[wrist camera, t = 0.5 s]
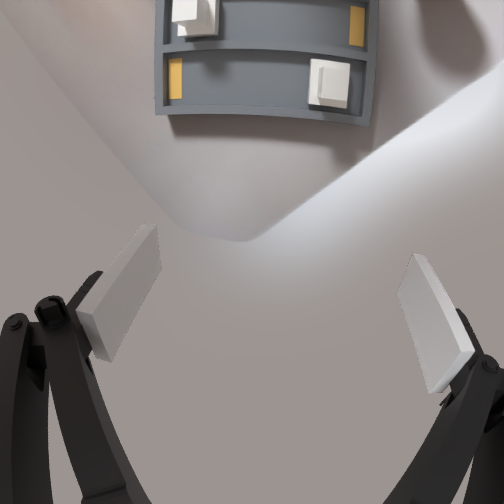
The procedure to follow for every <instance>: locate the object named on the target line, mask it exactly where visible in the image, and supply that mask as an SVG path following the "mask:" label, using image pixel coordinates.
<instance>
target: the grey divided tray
mask: <svg viewBox="0 0 504 504" xmlns="http://www.w3.org/2000/svg"><path fill="white" fill-rule="evenodd" d="M378 5H379V0H220V5H219V30H218V36H203V37H189V38H182V37H179V36H178V24H176V23H173V22H172V7H173V0H156V17H155V56H154V76H155V115H173V114H247V115H267V116H282V117H294V118H305V119H314V120H323V121H331V122H339V123H346V124H353V125H359V126H365V127H370V120H371V112H372V103H373V93H374V82H375V71H376V57H377V39H378ZM310 59H320V60H327V61H335V62H341V63H348V64H350V73H349V85H348V97H347V107H346V108H339V107H332V106H324V105H315V104H308V102H307V101H308V86H309V70H310Z"/></svg>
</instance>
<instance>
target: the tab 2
mask: <svg viewBox="0 0 504 504" xmlns="http://www.w3.org/2000/svg"><path fill="white" fill-rule="evenodd" d="M349 73H350V64H348V63H341V62H335V61H327V60H320V59H310V70H309V86H308V101H307V102H308V104H315V105H324V106H332V107H339V108H346V107H347V97H348V85H349Z"/></svg>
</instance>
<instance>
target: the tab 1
mask: <svg viewBox="0 0 504 504" xmlns="http://www.w3.org/2000/svg"><path fill="white" fill-rule="evenodd" d="M219 5H220V0H173V7H172V22H173V23H176V24H178V36H179V37H182V38H189V37H203V36H218V30H219Z"/></svg>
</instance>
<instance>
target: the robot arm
mask: <svg viewBox="0 0 504 504" xmlns="http://www.w3.org/2000/svg"><path fill="white" fill-rule="evenodd" d="M161 269H162V267H161V260H160V251H159V242H158V233H157V225H155V224H145V223H144V224H142V225H141V226H140V228H139V229H138V230H137V231H136V232H135V234H134V235H133V236H132V237H131V238H130V240H129V241H128V242H127V243H126V245H125V246H124V247H123V248H122V249H121V251H120V252H119V253H118V254H117V256H116V257H115V258H114V260H113V261H112V262H111V263H110V265H109V266H108V267H107V269H106V270H105V271H104V272H103V271H96V272H95V273H93V274H92V275H90V276H89V277H88V278H87V279H86V281H85V282H84V283H83V286H81V287H80V288H79V290H78V292H76V294H75V295H74V296H73V297H72V299H71V300H70V302H69V303H68V304H67V305H65V303H64V301H63V299H62V298H61V297H59V296H54V295H53V296H48V297H46V298H44V299H42V300H41V301H39V302H38V304H37V305H36V307H35V310H34V312H35V314H36V316H37V318H38V320H39V322H29V320H28V318H27V316H26V315H25V314H23V313H16V314H13V315H11V316H10V317H9V318H8V319H7V320H6V321H5V323H4V325H3V328H2V331H1V335H0V504H53V499H52V490H51V481H50V470H49V454H48V453H49V452H48V398H49V381H50V386H51V391H52V396H53V400H54V404H55V409H56V413H57V417H58V421H59V425H60V429H61V432H62V436H63V439H64V443H65V446H66V449H67V452H68V455H69V458H70V462H71V464H72V467H73V470H74V473H75V476H76V478H77V481H78V484H79V486H80V488H81V491H82V495H83V498H82V500H81V504H152V503H151V502H150V500H149V499H148V497H147V495H146V493H145V492H144V490H143V488H142V486H141V484H140V483H139V480H138V478H137V477H136V475H135V473H134V471H133V469H132V467H131V465H130V463H129V461H128V458H127V456H126V454H125V452H124V450H123V447H122V445H121V443H120V441H119V438H118V436H117V434H116V431H115V429H114V426H113V424H112V421H111V419H110V416H109V414H108V411H107V409H106V406H105V403H104V401H103V398H102V395H101V392H100V389H99V386H98V383H97V380H96V377H95V374H94V371H93V368H92V365H91V361H90V359H89V357H88V356H89V354H90V352H91V350H93V352H94V355H95V357H96V358H97V359H101V360H105V361H108V362H112V361H113V359H114V356H115V355H116V353H117V351H118V349H119V347H120V345H121V343H122V341H123V339H124V337H125V335H126V333H127V331H128V329H129V327H130V325H131V324H132V322H133V320H134V318H135V316H136V314H137V312H138V311H139V309H140V307H141V305H142V303H143V301H144V299H145V297H146V296H147V294H148V292H149V290H150V289H151V287H152V285H153V283H154V282H155V280H156V278H157V276H158V275H159V273H160V271H161ZM396 295H397V297H398V300H399V302H400V305H401V308H402V311H403V314H404V316H405V319H406V322H407V325H408V328H409V331H410V334H411V336H412V340H413V343H414V346H415V349H416V352H417V355H418V359H419V362H420V365H421V368H422V372H423V375H424V379H425V382H426V386H427V389H428V393H429V394H431V393H442V392H443V391H444V390H445V389H446V388H447V387H448V385H449V384H450V387H451V390H452V391H451V392H450V393H449V394H448V396H447V397H446V398H445V399H444V400H443V401H442V402H441V403H440V406H442V404H443V403H444V404H443V406H442V409H441V411H440V413H439V415H438V417H437V419H436V420H435V423H434V424H433V426H432V428H431V430H430V432H429V434H428V435H427V437H426V439H425V441H424V443H423V444H422V446H421V448H420V449H419V451H418V453H417V454H416V456H415V458H414V459H413V461H412V462H411V464H410V466H409V467H408V469H407V470H406V472H405V473H404V475H403V476H402V478H401V480H400V481H399V482H398V483H397V485H396V487H395V488H394V489H393V491H392V492H391V493H390V495H389V496H388V498H387V499H386V500H385V501H384V503H383V504H451V502H452V500H453V498H454V496H455V495H456V493H457V491H458V489H459V487H460V484H461V482H462V480H463V478H464V476H465V474H466V472H467V470H468V467H469V465H470V463H471V461H472V458H473V456H474V459H473V464H472V468H471V473H470V477H469V482H468V486H467V490H466V493H465V497H464V501H463V504H504V369H502V368H500V367H499V364H498V363H497V361H496V360H495V359H494V358H493V357H491V356H489V355H485V354H484V353H483V350H482V348H481V346H480V344H479V342H478V340H477V338H476V335H475V333H473V330H472V327H471V326H470V323H469V322H468V319H467V317H466V316H465V315H464V314H463V313H462V312H461V310H460V309H455V308H454V306H453V304H452V302H451V300H450V298H449V296H448V294H447V293H446V291H445V289H444V287H443V285H442V284H441V282H440V280H439V278H438V277H437V275H436V273H435V271H434V270H433V268H432V266H431V264H430V263H429V261H428V259H427V258H426V256H425V255H423V254H416V253H412V256H411V259H410V261H409V264H408V267H407V269H406V272H405V275H404V277H403V279H402V282H401V284H400V287H399V289H398V292H397V294H396Z"/></svg>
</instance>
